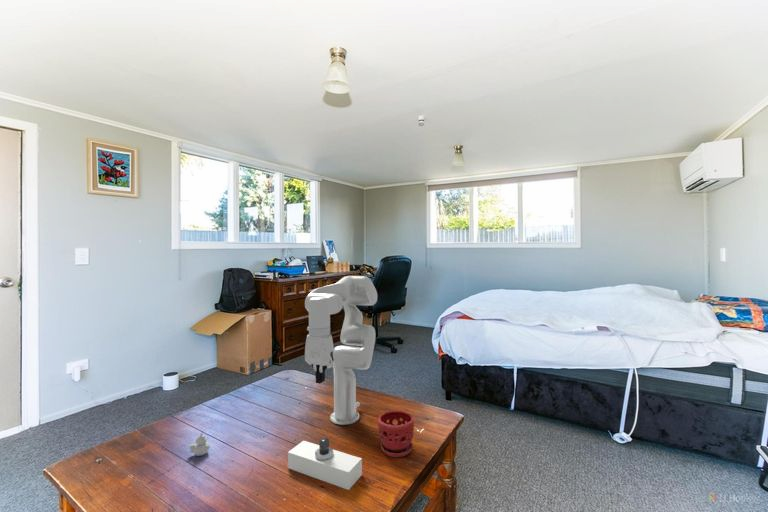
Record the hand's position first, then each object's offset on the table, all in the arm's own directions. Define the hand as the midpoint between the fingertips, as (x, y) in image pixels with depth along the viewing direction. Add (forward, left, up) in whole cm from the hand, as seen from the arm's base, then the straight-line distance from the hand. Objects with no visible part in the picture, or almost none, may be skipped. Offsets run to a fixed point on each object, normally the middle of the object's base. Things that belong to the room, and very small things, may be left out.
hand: (320, 381), depth 124 cm
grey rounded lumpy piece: (+20, -38, -26) cm, 50 cm away
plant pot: (-14, +24, -26) cm, 38 cm away
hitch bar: (+8, +8, -26) cm, 28 cm away
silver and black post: (+8, +8, -25) cm, 28 cm away
